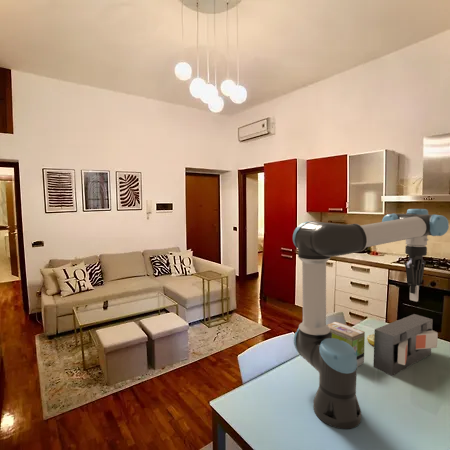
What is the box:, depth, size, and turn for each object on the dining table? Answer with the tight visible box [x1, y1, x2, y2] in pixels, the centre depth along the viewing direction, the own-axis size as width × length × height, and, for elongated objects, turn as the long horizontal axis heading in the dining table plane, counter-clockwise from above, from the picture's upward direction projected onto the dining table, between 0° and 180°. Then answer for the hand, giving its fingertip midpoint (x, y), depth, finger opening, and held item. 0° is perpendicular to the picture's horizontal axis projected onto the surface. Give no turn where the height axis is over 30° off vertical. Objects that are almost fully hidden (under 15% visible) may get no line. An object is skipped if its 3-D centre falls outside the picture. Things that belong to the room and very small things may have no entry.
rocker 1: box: [398, 339, 408, 365], centre depth 122 cm, size 12×3×7 cm, turn 143°
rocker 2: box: [416, 329, 439, 350], centre depth 132 cm, size 12×3×7 cm, turn 99°
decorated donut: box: [366, 333, 374, 347], centre depth 147 cm, size 10×11×4 cm
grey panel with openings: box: [372, 313, 434, 377], centre depth 130 cm, size 34×8×17 cm, turn 121°
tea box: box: [327, 321, 366, 368], centre depth 131 cm, size 15×10×15 cm, turn 34°
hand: (413, 300), depth 122 cm, fingers closed
